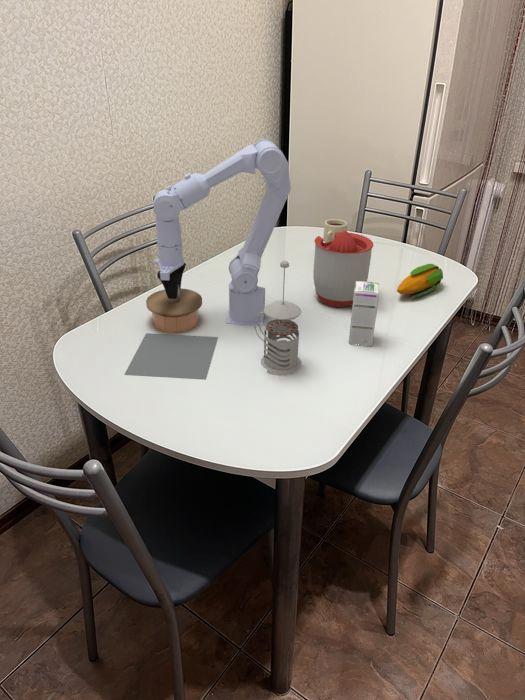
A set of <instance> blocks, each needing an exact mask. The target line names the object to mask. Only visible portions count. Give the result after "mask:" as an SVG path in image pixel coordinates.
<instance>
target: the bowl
mask: <svg viewBox="0 0 525 700" xmlns="http://www.w3.org/2000/svg"><path fill="white" fill-rule="evenodd" d="M151 315H152V322H153V325H154V327H155V328H156V329H158V330H160V331H163V332H167V333H168V332H169V333H181V332H184V331H189V330H191V329H192V328H194V327H196V326H197V325H198V322H199V309H198V310H196V311H194V312H192V313H190V314H186V315H181V316H162V315H158V314H155V313H152V312H151Z"/></svg>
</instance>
